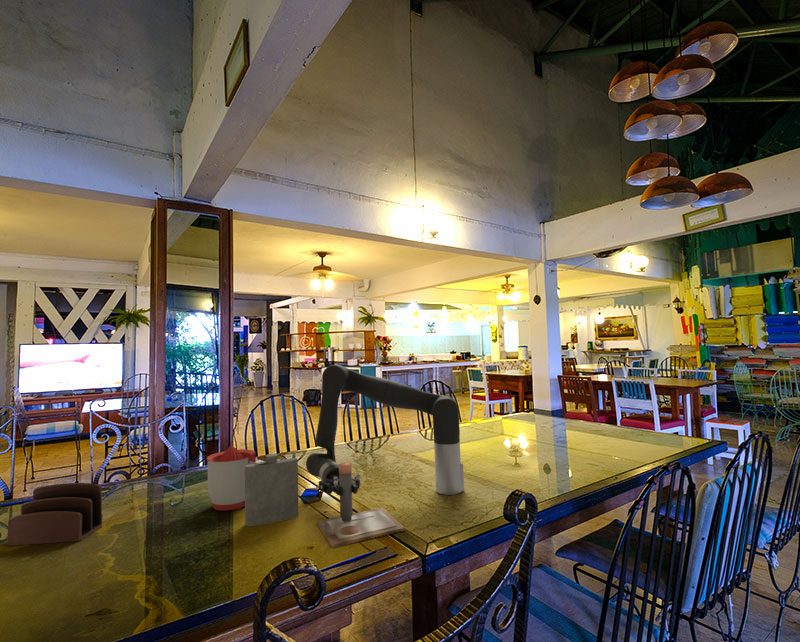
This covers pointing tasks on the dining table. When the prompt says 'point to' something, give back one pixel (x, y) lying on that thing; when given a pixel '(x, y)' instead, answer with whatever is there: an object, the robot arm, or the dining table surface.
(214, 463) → the citrus juicer
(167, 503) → the dining table surface
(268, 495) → the hip flask
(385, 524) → the clipboard
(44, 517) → the letter holder
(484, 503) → the dining table surface
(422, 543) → the dining table surface
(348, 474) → the marker
